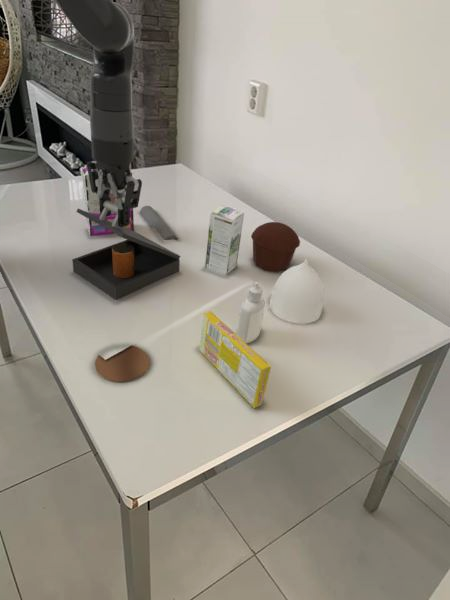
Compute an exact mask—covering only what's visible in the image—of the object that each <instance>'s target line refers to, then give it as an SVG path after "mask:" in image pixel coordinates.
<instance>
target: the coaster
mask: <svg viewBox="0 0 450 600" xmlns="http://www.w3.org/2000/svg"><path fill="white" fill-rule="evenodd" d="M149 367H150V357H149V355H148V354H147V352H146V351H145V350H144V349H142V348H141V347H138V346H136V345H130V346H128V347H125V348H124V349H122V350H120V351H119V352H117V353H115V354H113V355H111V356H110V357H107V358H106V359H105V358H104V357H102V356H101V355H100V354H98V355H97V357H96V359H95V361H94V368H95V371H96V373H97V374H98V375H99V376H100V377H101V378H102V379H104V380H106V381H109V382H112V383H127V382H132V381H135V380H138V379H139V378H141V377H143V376H144V375H145V374H146V372H147V371H148V370H149Z"/></svg>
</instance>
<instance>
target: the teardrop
mask: <svg viewBox="0 0 450 600" xmlns="http://www.w3.org/2000/svg"><path fill="white" fill-rule="evenodd" d="M325 295H326V292H325V287H324V284H323V281H322V280H321V277H320V275H319V274H318V273H317V271H316V270H315V269H314V268H312V267H311V266H310V264H309V263H308V259H307V258H305V260H304V261H302V263H300V264H297V265H293V266H291V267H288V268H287V269H286V270H284V271H283V273H281V274H280V276H279V277H278V279H277V280H276V282H275V283H274V287H273V290H272V293H271V297H270V299H269V300H270V301H269V306H270V311H271V312H272V313H273V314H274V315H275V316H276V317H278V318H279V319H281V320H283V321H287V322H290V323H293V324H304V325H305V324H310V323H314V322H316V321H318V320H319V319H320V317H321V314H322V311H323V306H324V301H325Z"/></svg>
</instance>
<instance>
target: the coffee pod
mask: <svg viewBox="0 0 450 600" xmlns="http://www.w3.org/2000/svg"><path fill="white" fill-rule="evenodd" d="M115 244H116V243H115ZM113 245H114V244H113ZM112 261H113V274H114V275H115V276H116V277H118V278H129V277H131V276H133V275H134V247H133V246H132V245H130V244H126V243H121V244H116V245H114V246H113V247H112Z"/></svg>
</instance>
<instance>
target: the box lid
mask: <svg viewBox="0 0 450 600" xmlns="http://www.w3.org/2000/svg"><path fill="white" fill-rule="evenodd" d="M103 206H104V209H103V211H102V213H101V216H100V217H98V216H95V215H93V214H90V213H88V212H86V210H83V209H81V208H77V209H76V213H78V214H79V215H81V216H83V217H84V218H86V219H87V218H88V219H90V220H92V221H94V222H95V223H97V224H99V225H101V226H103V227H104V228H106V229H108V230H110V231H111V232H113V233H115V234H116V235H117V236H118V237H121V238H122V239H125V240H130V241H132V242H135V243H138V244H140V245H143V246H145V247H148V248H151V249H153V250H156V251H158V252H161V253H164V254H166V255H169V256H171V257H174V258H177V259H179V260H180V258H181V255H179V254H177V253H175V252H173V251H172V250H170V249H168V248H166V247H164V246H162V245H161V244H159V243H157V242H155V241H153V240H151V239H150V238H148V237H146V236H144V235H142V234H140V233H138V232H136V231H135V230H134V231H131V230H129V229H127V228H124V227H120V226H119V225H118V209H119V208H118V205H116V204H114V203H112V202H110V201H108V200H107V201H105V202H104V203H103ZM108 210H110V211H112V212H114V213H116V214H117V215H116V217H115V219H114V222H113V223H112V222H110V221H107V220H105V219H104V218H105V216H106V214H107V212H108ZM115 234H114V235H115Z"/></svg>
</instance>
